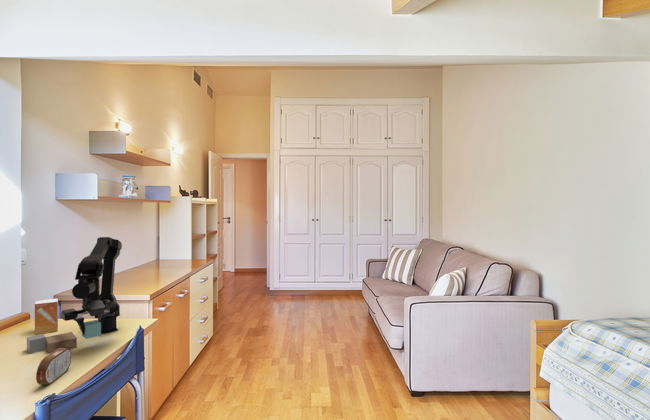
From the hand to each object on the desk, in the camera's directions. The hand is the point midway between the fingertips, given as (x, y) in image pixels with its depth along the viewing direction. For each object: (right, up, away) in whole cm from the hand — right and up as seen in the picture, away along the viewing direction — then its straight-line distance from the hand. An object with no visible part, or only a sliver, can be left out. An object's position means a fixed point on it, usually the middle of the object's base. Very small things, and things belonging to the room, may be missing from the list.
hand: (91, 332), depth 151 cm
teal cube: (0, -1, 0) cm, 1 cm away
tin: (+4, -7, -25) cm, 26 cm away
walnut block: (-12, -6, +1) cm, 14 cm away
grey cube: (-19, -6, -3) cm, 20 cm away
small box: (-30, -5, +18) cm, 35 cm away
